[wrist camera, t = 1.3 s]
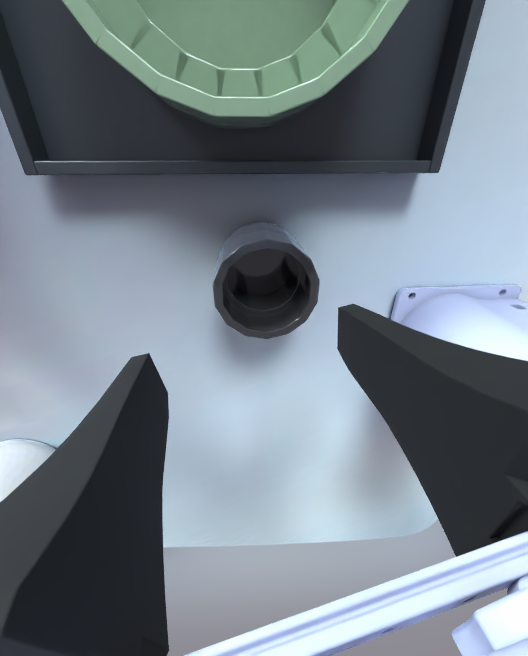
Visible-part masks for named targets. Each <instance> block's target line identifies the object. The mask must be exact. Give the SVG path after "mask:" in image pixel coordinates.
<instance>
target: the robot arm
mask: <svg viewBox="0 0 528 656" xmlns="http://www.w3.org/2000/svg"><path fill="white" fill-rule="evenodd" d="M501 290H502V291H501ZM521 290H522V289H521V287H520V286H519V285H516V284H504V285H476V286H447V287H418V288H402V289H401V290H399V291H398V293H397V295H396V299H395V303H394V307H393V311H392V315H391V319H388V318H386V317H383V316H381V315H379V314H377V313H374V312H372V311H370V310H367V309H365V308H363V307H360V306H358V305H355V304H351V305H347V306H343V307H339V308H338V347H337V349H338V351H339V353H340V355H341V357H342V358H343V360H344V362H345V364H346V366H347V368H348V369H349V371H350V372H351V374H352V375H353V377H354V378H355V379H356V381H357V382H358V383H359V385H360V386H361V388H362V389H363V390H364V392H365V393H366V394H367V396H368V397H369V399H370V400H371V401H372V403H373V404H374V405H375V407H376V408H377V409H378V411H379V412H380V414H381V415H382V417H383V418H384V420H385V421H386V423H387V424H388V426H389V427H390V429H391V431H392V433H393V434H394V436H395V438H396V439H397V441H398V443H399V445H400V446H401V448H402V450H403V452H404V453H405V455H406V457H407V459H408V461H409V463H410V464H411V466H412V468H413V470H414V472H415V473H416V475H417V477H418V479H419V481H420V483H421V485H422V487H423V489H424V491H425V493H426V495H427V497H428V499H429V501H430V503H431V505H432V507H433V509H434V511H435V513H436V515H437V517H438V519H439V521H440V523H441V525H442V527H443V529H444V532H445V534H446V535H447V538H448V540H449V542H450V544H451V546H452V549H453V551H454V553H455V555H456V557H455V558H452V559H449V560H446V561H444V562H441V563H438V564H435V565H433V566H430V567H427V568H424V569H422V570H419V571H416V572H413V573H411V574H408V575H405V576H402V577H399V578H397V579H394V580H392V581H388V582H386V583H383V584H380V585H377V586H374V587H372V588H369V589H366V590H363V591H361V592H358V593H355V594H353V595H350V596H347V597H344V598H341V599H339V600H336V601H333V602H330V603H327V604H325V605H322V606H319V607H316V608H314V609H311V610H308V611H305V612H303V613H300V614H297V615H294V616H292V617H289V618H286V619H284V620H281V621H278V622H275V623H272V624H269V625H267V626H264V627H261V628H258V629H256V630H253V631H250V632H247V633H245V634H242V635H239V636H236V637H234V638H231V639H228V640H225V641H222V642H220V643H217V644H214V645H211V646H209V647H206V648H203V649H200V650H198V651H195V652H192V653H189V654H187V655H184V656H331V655H333V654H336V653H339V652H341V651H344V650H346V649H349V648H352V647H354V646H357V645H359V644H362V643H365V642H367V641H370V640H373V639H375V638H378V637H380V636H383V635H386V634H388V633H391V632H393V631H396V630H398V629H401V628H404V627H406V626H409V625H412V624H414V623H417V622H419V621H422V620H425V619H427V618H430V617H432V616H435V615H438V614H440V613H443V612H445V611H448V610H450V609H453V608H456V607H458V606H461V605H464V604H466V603H469V602H472V601H474V600H476V599H479V598H482V597H485V596H487V595H490V594H492V593H495V592H498V591H500V590H503V589H505V588H508V587H509V588H508V591H507V596H506V597H504V598H502V599H500V600H497V601H495V602H493V603H491V604H489V605H487V606H485V607H483V608H481V609H479V610H476V611H475V612H474V615H473V616H472V617H471V618H470V619H469V620H468V621H466V622H465V623H464V624H462V625H460V626H459V627H457V628H456V629H454V630H453V631H452V637H453V639H454V641H455V643H456V645H457V647H458V648H459V650H460V652H461V654H462V656H528V304H526V303H524V302H522V301H520V300H518V297H519V295H520V293H521ZM500 291H501V292H500ZM499 292H500V293H499ZM411 293H413V294H412V296H411V297H409V295H410V294H411ZM168 420H169V409H168V392H167V390H166V388H165V386H164V384H163V381H162V379H161V377H160V375H159V373H158V371H157V369H156V367H155V365H154V363H153V360H152V358H151V356H150V354H149V353H148V354H143V355H139V356H135V357H132V358H131V359H130V360H129V361H128V363H127V364H126V365H125V367H124V368H123V369H122V371H121V372H120V373H119V375H118V376H117V377H116V379H115V380H114V381H113V383H112V384H111V385H110V387H109V388H108V389H107V391H106V392H105V393H104V395H103V396H102V397H101V399H100V400H99V401H98V402H97V404H96V405H95V406H94V407H93V409H92V410H91V411H90V412H89V413H88V415H87V416H86V417H85V418H84V419H83V421H82V422H81V423H80V424H79V425H78V427H77V428H76V429H75V430H74V431H73V432H72V433H71V434H70V436H69V437H68V438H67V439H66V440H65V441H64V442H63V443H62V444H61V445H60V446H59V447H58V448H57V449H56V450H55V451H54V452H53V453H52V454H51V456H50V457H49V458H48V459H47V460H46V461H45V462H44V463H43V464H41V465H40V466H39V467H38V468H37V469H36V470H35V471H34V472H33V473H32V474H31V475H30V476H29V477H27V478H26V479H25V480H24V481H23V482H22V483H21V484H20V485H19V486H18V487H17V488H16V489H15V490H13V491H12V492H11V493H10V494H9V495H8V496H7V497H6V498H5V499H3V500H2V501H1V502H0V656H167V653H168V651H169V645H168V632H167V618H166V603H165V585H164V564H163V528H162V486H163V472H164V462H165V452H166V442H167V431H168Z"/></svg>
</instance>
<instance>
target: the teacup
mask: <svg viewBox="0 0 528 656" xmlns="http://www.w3.org/2000/svg"><path fill="white" fill-rule="evenodd" d="M55 450H56V449H55V448H53V447H51V446H49V445H47V444H44V443H41V442H38V441H32V440H24V439H14V440H5V441H0V502H1V501H2V500H3V499H5V498H6V497H7V496H8V495H9V494H10V493H11V492H12V491H13V490H15V489H16V488H17V487H18V486H19V485H20V484H21V483H22V482H23V481H24V480H25V479H26V478H27V477H29V476H30V475H31V474H32V473H33V472H34V471H35V470H36V469H37V468H38V467H39V466H40V465H41V464H43V463H44V462H45V461H46V460H47V459H48V458H49V457H50V456H51V454H52V453H53V452H54V451H55Z"/></svg>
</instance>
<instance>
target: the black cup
mask: <svg viewBox="0 0 528 656" xmlns="http://www.w3.org/2000/svg"><path fill="white" fill-rule="evenodd" d="M319 282H320V281H319V278H318V275H317V273H316V270H315V268H314V265H313V263H312V260H311V259H310V258H309V256H308V255H307V254H306V252H305V251H304V250H303V248H302V247H301V246H300V244H299V243H298V242H297V240H296V239H295V238H294V237H293V236H292V235H291V234H289V233H288V232H287V231H286V230H285V229H284V228H282V227H281V226H279V225H274V224H270V223H265V222H256V223H253V224H249V225H245V226H241V227H240V228H238V229H237V230H236V231H235V232H234V233H233V234H231V235H230V236H229V237H228V238H227V239H226V241H224V244H223V246H222V249H221V251H220V254H219V256H218V261H217V266H216V271H215V276H214V281H213V291H214V302H215V307H216V309H217V310H218V312H219V313H220V315H221V316H222V318H223V319H224V321H225V322H226V324H227V325H228V326H230V327H232V328H233V329H235V330H237V331H238V332H240V333H242V334H243V335H246V336H250V337H257V338H263V339H269V338H273V337H277V336H281V335H286V334H288V333H290V332H291V331H293V330H294V329H296V328H297V327H298V326H300V325H301V324H303V323H304V322H305V321H306V320H307V319H308V317H309V315H310V314H311V312H312V311H313V309H314V307H315V306H316V304H317V302H318V292H319Z"/></svg>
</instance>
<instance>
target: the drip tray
mask: <svg viewBox="0 0 528 656" xmlns="http://www.w3.org/2000/svg"><path fill="white" fill-rule="evenodd" d="M485 1H486V0H409V2H408V3H407V5H406V6H405V8H404V9H403V11H402V12H401V14H400V15H399V17H398V18H397V20H396V21H395V22H394V24H393V25H392V27H391V28H390V30H389V31H388V33H387V34H386V36H385V37H384V39H383V40H382V42H381V43H380V45H379V46H378V48H377V49H376V51H375V52H373V54H372V55H371V56H370V57H368V58H367V59H366V60H365V61H364V62H363V63H362V64H360V65H359V66H358V67H357V68H356V69H355V70H353V71H352V72H351V73H350V74H349V75H348V76H346V77H345V78H344V79H343V80H342V81H341V82H339V83H338V84H337V85H336V86H335V87H334V88H333V89H331V90H330V91H329V92H328V93H327V94H326V95H324V96H323V97H322V98H320V99H319V100H318V101H316V102H315V103H314V104H312V105H311V106H309V107H308V108H307V109H305V110H304V111H303V112H301V113H299V114H298V115H296V116H293V117H291V118H288V119H286V120H283V121H281V122H278V123H276V124H273V125H270V126H268V127H265V128H263V129H261V128H260V129H221V128H216V127H214V126H211V125H208V124H206V123H203V122H201V121H198V120H196V119H193V118H190V117H188V116H185V115H183V114H181V113H179V112H177V111H176V110H175V109H173V108H172V107H171V106H170V105H168V104H167V103H166V102H165V101H164V100H162V99H161V98H160V97H159V96H157V95H156V94H155V93H154V92H152V91H151V90H150V89H149V88H147V87H146V86H145V85H144V84H143V83H141V82H140V81H139V80H138V79H136V78H135V77H134V76H133V75H131V74H130V73H129V72H128V71H127V70H125V69H124V68H123V67H122V66H120V65H119V64H118V63H117V62H116V61H114V60H113V59H112V58H111V57H109V56H108V55H107V54H106V53H105V52H103V51H102V50H101V49H100V48H99V47H98V46H97V45H96V44H95V43H94V42H93V41H92V40H91V38H90V37H89V36H88V34H87V33H86V32H85V30H84V29H83V28H82V26H81V25H80V24H79V22H78V21H77V20H76V19H75V17H74V16H73V15H72V13H71V12H70V11H69V9H68V8H67V7H66V5H65V4H64V3H63V1H62V0H0V108H1V111H2V114H3V116H4V119H5V122H6V124H7V127H8V130H9V132H10V135H11V138H12V140H13V143H14V146H15V148H16V151H17V154H18V156H19V159H20V162H21V164H22V167H23V170H24V172H25V174H26V175H161V174H343V173H438V172H439V170H440V167H441V163H442V159H443V156H444V152H445V148H446V145H447V141H448V137H449V133H450V130H451V126H452V122H453V119H454V115H455V111H456V108H457V104H458V100H459V97H460V93H461V89H462V86H463V82H464V78H465V75H466V71H467V67H468V63H469V60H470V56H471V52H472V49H473V45H474V41H475V38H476V34H477V30H478V27H479V23H480V19H481V16H482V12H483V8H484V5H485Z"/></svg>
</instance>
